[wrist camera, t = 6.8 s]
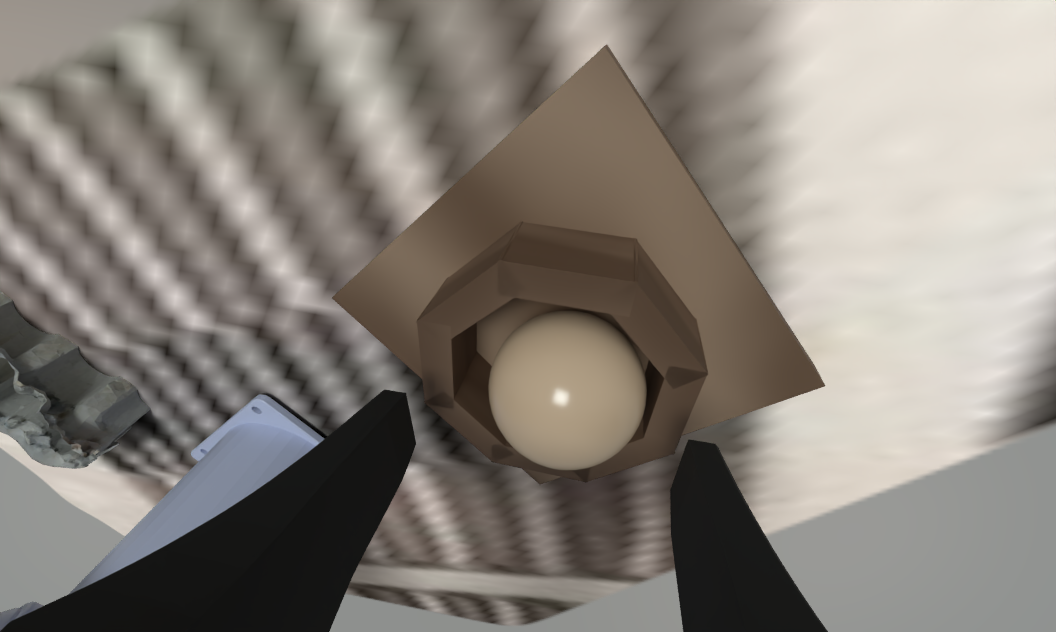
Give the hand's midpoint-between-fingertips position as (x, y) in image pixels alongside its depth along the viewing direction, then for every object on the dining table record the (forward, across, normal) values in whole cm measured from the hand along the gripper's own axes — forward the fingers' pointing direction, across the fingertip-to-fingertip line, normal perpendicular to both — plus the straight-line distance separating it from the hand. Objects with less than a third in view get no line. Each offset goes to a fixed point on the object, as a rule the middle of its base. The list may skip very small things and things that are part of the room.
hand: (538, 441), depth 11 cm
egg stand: (+5, 0, 0) cm, 5 cm away
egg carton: (+6, +28, +8) cm, 30 cm away
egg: (+2, 0, 0) cm, 2 cm away
